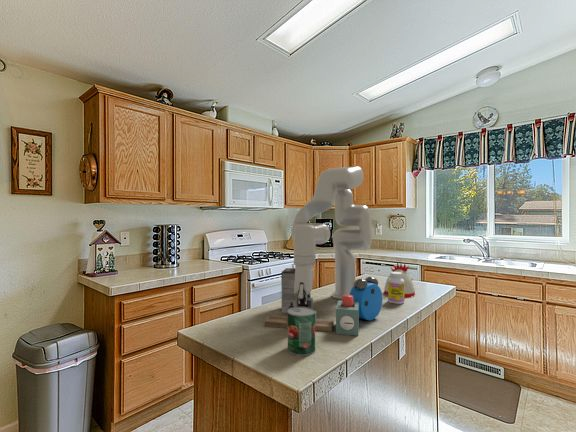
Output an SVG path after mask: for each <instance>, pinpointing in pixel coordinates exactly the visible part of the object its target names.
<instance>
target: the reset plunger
mask: <svg viewBox="0 0 576 432" xmlns="http://www.w3.org/2000/svg"><path fill="white" fill-rule="evenodd" d="M341 301H342V307H353V296H352V295H342V300H341Z"/></svg>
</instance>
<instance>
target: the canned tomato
mask: <svg viewBox="0 0 576 432" xmlns="http://www.w3.org/2000/svg"><path fill="white" fill-rule="evenodd" d="M315 311H316V310H315V309H314V308H313V309H312V308H308V307H293V308H290V309H288V311H287V312H288V313H287V316H288V328H287V351H288V354H289V353H290V354H291V355H293V356H298V357H307V356H311V355H313V354H314V353H316V330H315Z"/></svg>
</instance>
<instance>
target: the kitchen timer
mask: <svg viewBox="0 0 576 432" xmlns="http://www.w3.org/2000/svg"><path fill="white" fill-rule="evenodd" d="M393 267H394V268H393ZM393 267H391V266H390V268H391V272H401V273H402V279H403V280H404V298H412V297H411V296H413V297H415V296H416V289H415V287H414V282H413V278H411V277H410V274H408V272H407V271H408V269H409V265H408V266H407V265H406V263H404V265H402V263H400V265H399V262H397V263H396V265H395V264H393ZM389 278H391V273H389V275H388V277H387V278H386V282H385V285H384V288H383V289H384V290H383V292H384V294H385V295H387V294H388V280H389ZM414 295H415V296H414Z"/></svg>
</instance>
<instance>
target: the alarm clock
mask: <svg viewBox="0 0 576 432" xmlns="http://www.w3.org/2000/svg"><path fill="white" fill-rule="evenodd" d="M350 295H352V296H353V301H357V302H359V319H363V320H366V321H374V320H375V319H376V318H377V317H378V316H379V314H380V312H381V309H382V306H383V299H384V298H383V292H382V290H381V287H380V286H379V280H378V279H377V278H376V277H374V276H368V277H366V278H365V279H364V278H356V281H355V282H354V286H353V287H352V289H351V291H350Z"/></svg>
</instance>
